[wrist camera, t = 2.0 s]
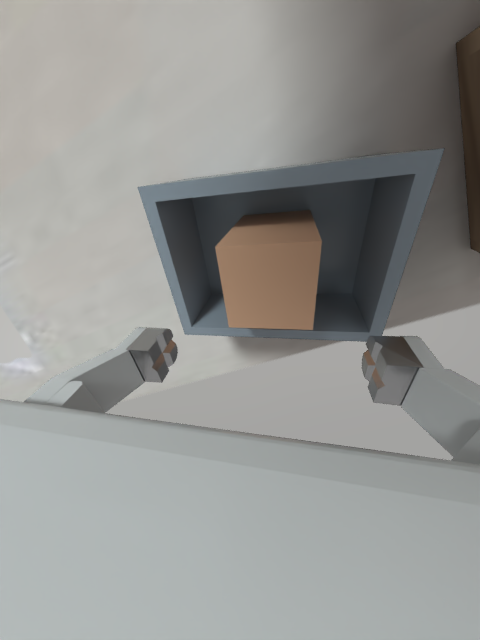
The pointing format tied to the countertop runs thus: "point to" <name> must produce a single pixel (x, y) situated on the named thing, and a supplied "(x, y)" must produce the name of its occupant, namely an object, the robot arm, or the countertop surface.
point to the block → (271, 270)
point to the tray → (471, 125)
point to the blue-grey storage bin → (333, 226)
